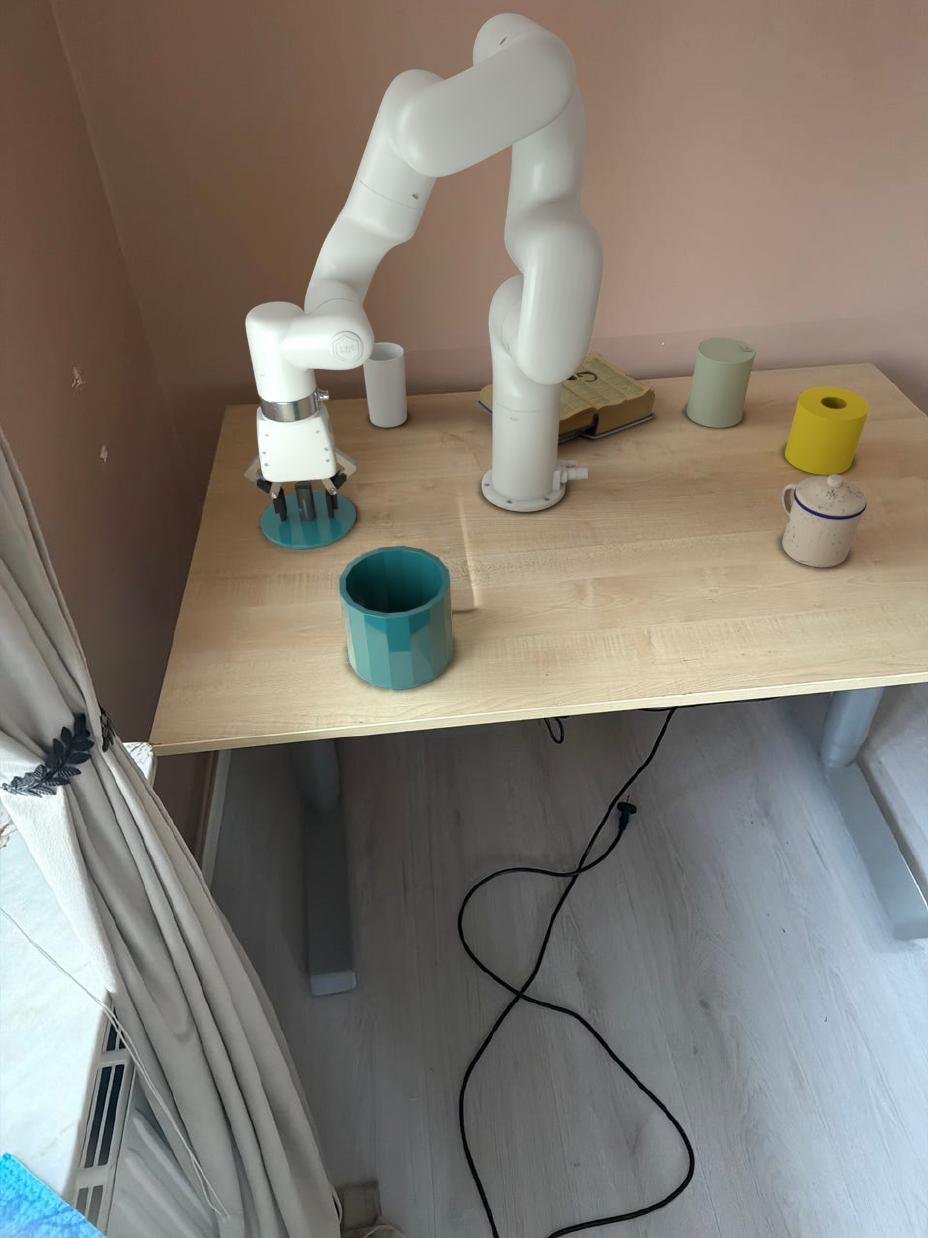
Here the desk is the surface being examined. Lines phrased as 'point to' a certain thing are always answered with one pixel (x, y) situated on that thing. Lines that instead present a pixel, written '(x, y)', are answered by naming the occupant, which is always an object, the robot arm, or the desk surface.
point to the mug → (386, 385)
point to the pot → (397, 616)
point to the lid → (308, 519)
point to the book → (595, 400)
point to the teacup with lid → (821, 519)
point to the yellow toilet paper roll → (826, 430)
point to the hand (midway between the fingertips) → (307, 513)
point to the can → (720, 381)
